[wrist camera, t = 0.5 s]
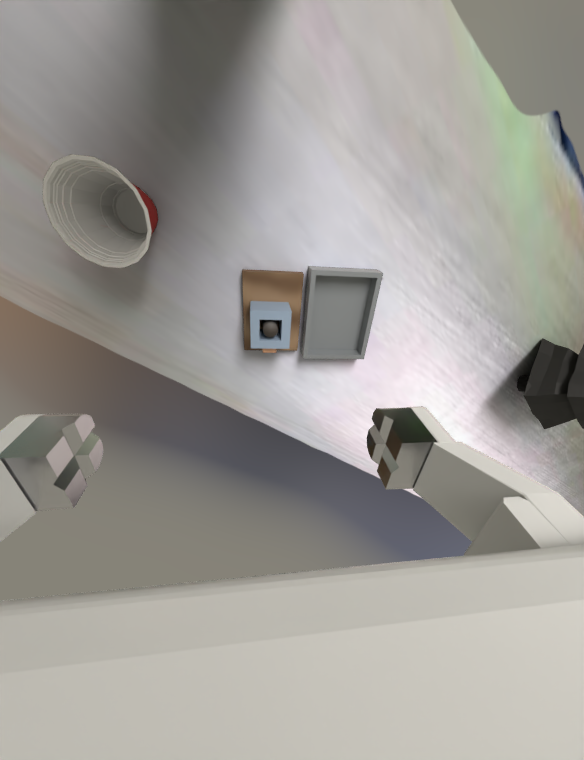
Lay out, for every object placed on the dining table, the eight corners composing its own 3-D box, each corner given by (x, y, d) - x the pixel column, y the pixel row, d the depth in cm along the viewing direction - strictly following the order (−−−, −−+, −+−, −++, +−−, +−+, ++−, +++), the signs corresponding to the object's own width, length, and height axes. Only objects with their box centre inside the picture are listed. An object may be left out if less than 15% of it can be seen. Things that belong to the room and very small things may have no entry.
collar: (250, 300, 48) (250, 310, 43) (288, 302, 48) (291, 311, 44) (251, 344, 52) (250, 356, 48) (286, 344, 53) (288, 356, 48)
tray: (308, 266, 47) (311, 269, 45) (376, 269, 49) (383, 272, 46) (300, 351, 56) (303, 358, 53) (358, 352, 57) (363, 359, 55)
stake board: (242, 269, 46) (241, 278, 41) (302, 272, 48) (308, 281, 42) (244, 346, 54) (243, 362, 48) (296, 347, 55) (300, 362, 49)
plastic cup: (82, 221, 40) (25, 227, 30) (111, 145, 36) (56, 123, 26) (156, 269, 45) (128, 288, 35) (189, 206, 41) (167, 207, 31)
